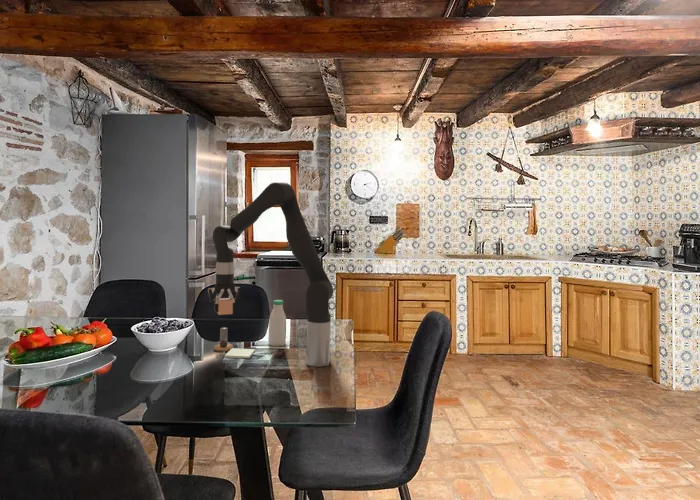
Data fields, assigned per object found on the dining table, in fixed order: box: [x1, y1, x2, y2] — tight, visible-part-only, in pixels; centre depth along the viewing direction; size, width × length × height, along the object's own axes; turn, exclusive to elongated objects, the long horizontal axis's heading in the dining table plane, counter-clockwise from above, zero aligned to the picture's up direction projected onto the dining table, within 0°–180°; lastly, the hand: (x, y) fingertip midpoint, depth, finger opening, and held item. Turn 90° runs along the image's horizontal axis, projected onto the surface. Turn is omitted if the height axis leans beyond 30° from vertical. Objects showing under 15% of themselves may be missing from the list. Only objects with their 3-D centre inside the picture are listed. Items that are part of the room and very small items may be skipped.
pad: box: [224, 347, 256, 359], centre depth 181 cm, size 10×10×1 cm
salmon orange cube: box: [217, 297, 234, 316], centre depth 185 cm, size 6×6×6 cm
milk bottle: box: [268, 299, 287, 347], centre depth 197 cm, size 8×8×20 cm
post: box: [213, 327, 234, 353], centre depth 187 cm, size 8×8×9 cm
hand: (224, 311), depth 186 cm, fingers closed on salmon orange cube, 5 cm apart
